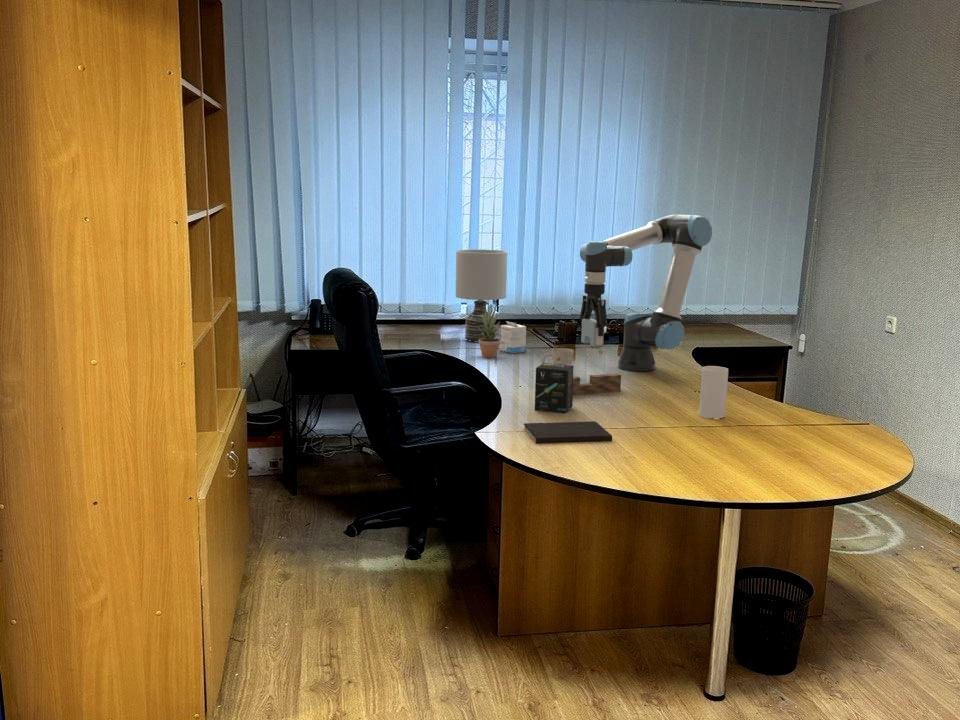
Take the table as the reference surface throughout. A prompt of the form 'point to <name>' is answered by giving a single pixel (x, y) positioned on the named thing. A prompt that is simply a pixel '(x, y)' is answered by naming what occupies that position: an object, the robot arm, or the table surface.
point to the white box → (513, 338)
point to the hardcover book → (567, 432)
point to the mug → (560, 356)
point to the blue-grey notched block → (589, 332)
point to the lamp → (480, 284)
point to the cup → (713, 392)
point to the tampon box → (554, 388)
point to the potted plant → (489, 335)
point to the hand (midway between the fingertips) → (592, 342)
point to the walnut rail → (598, 384)
